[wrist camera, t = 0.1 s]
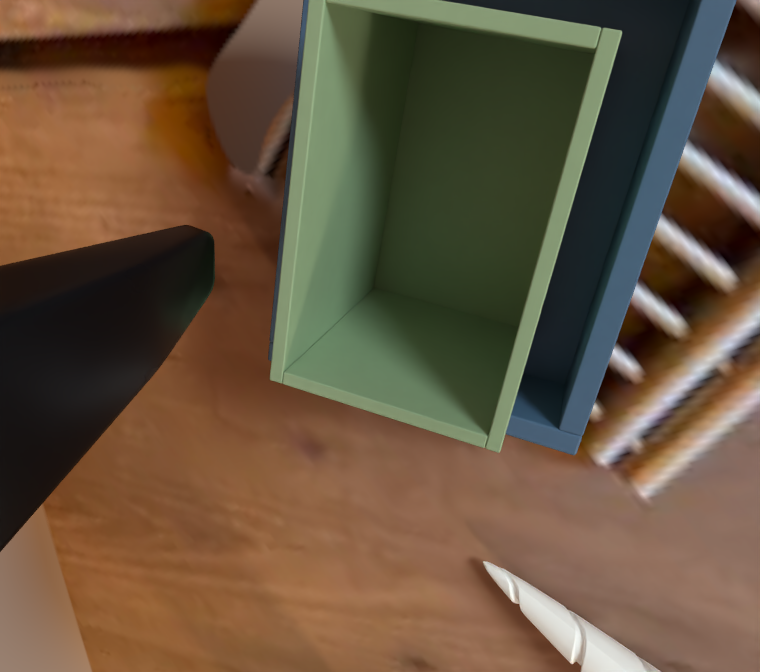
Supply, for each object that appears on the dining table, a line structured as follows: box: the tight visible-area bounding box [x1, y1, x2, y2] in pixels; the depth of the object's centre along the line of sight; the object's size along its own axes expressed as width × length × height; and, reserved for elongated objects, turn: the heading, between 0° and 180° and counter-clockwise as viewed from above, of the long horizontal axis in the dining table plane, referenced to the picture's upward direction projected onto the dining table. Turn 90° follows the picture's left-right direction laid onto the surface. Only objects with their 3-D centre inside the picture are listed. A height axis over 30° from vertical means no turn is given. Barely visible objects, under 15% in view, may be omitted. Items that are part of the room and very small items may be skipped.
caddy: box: [270, 0, 622, 453], centre depth 19 cm, size 10×7×8 cm, turn 170°
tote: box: [268, 0, 736, 455], centre depth 22 cm, size 15×11×4 cm
